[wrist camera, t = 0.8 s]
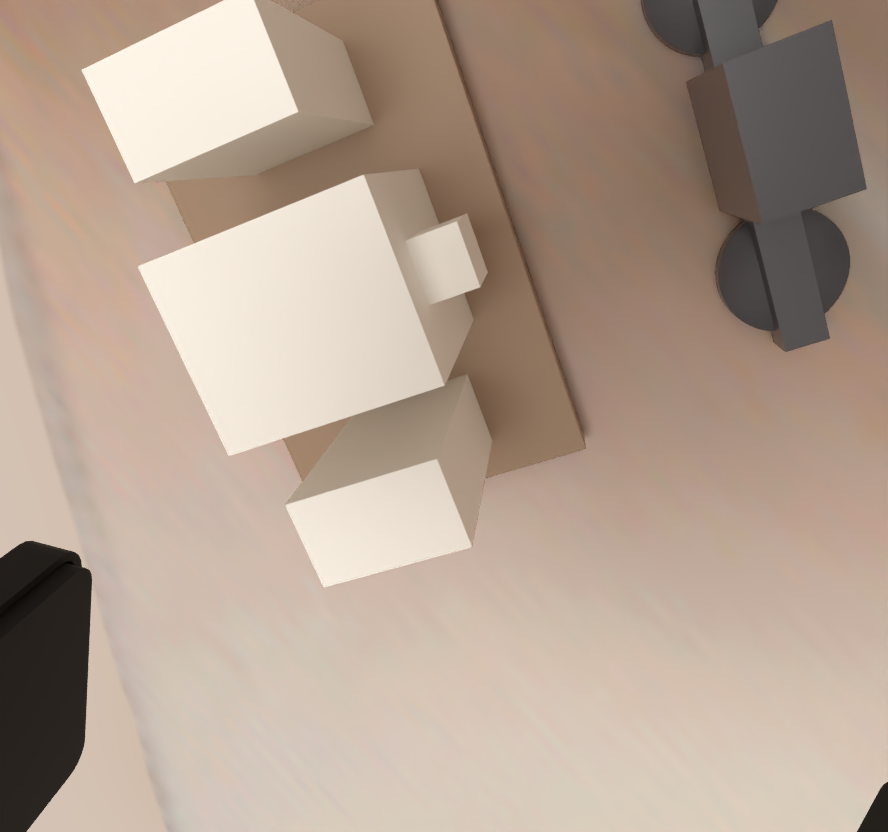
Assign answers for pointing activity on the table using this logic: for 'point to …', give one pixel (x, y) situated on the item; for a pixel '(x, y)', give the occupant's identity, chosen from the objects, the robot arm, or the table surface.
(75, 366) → the table surface
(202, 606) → the table surface
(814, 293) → the grey bar with discs
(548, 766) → the table surface
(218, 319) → the boxes on tan tray
